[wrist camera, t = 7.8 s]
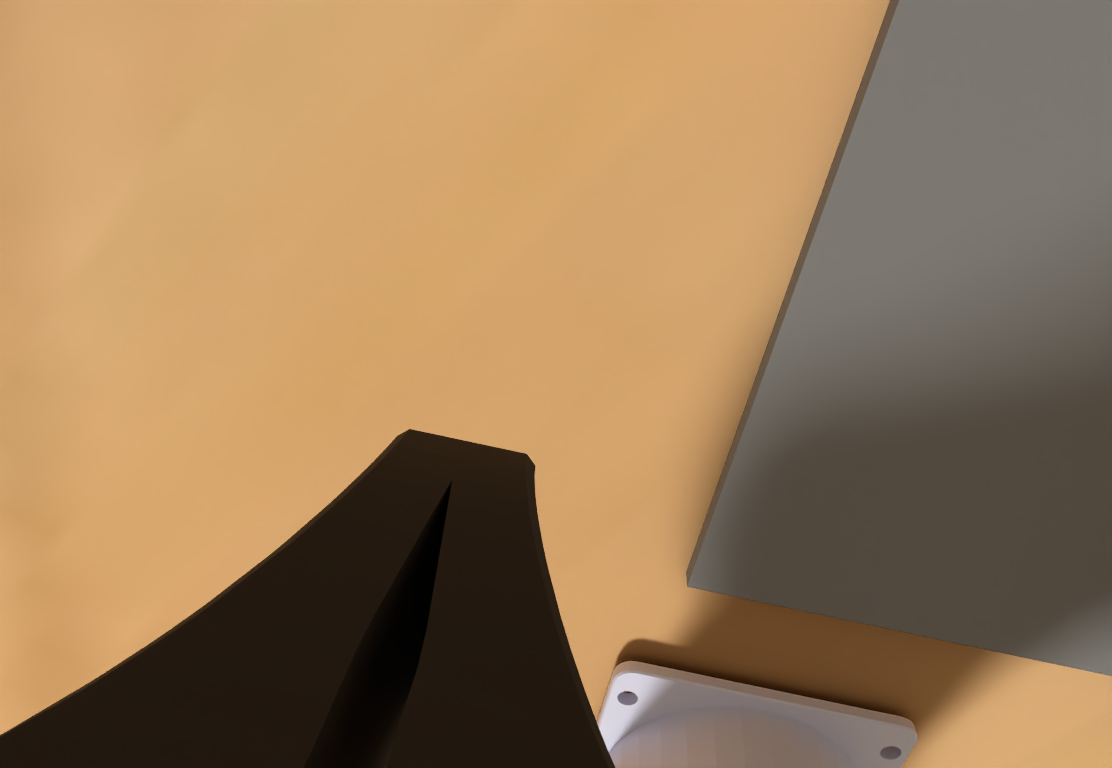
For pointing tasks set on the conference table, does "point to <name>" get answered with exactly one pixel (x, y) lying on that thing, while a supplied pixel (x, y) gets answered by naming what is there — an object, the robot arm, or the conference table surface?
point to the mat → (945, 351)
